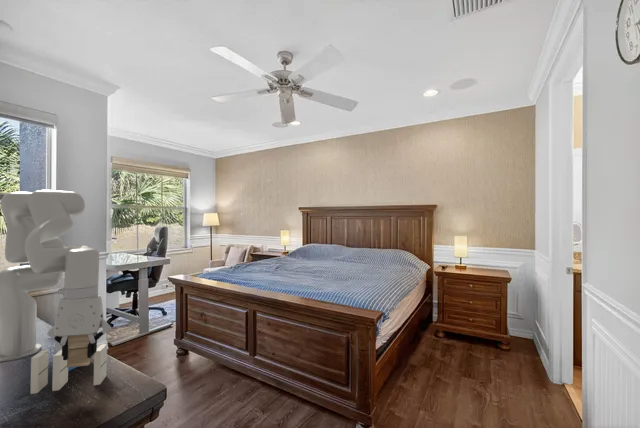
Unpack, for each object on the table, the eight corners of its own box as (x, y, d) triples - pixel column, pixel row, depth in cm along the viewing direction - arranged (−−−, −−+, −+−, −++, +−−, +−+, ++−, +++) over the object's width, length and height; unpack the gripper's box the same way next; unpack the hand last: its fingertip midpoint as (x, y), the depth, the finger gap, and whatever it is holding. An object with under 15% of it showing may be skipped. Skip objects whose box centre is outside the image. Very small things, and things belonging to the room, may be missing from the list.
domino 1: (30, 394, 83) (31, 358, 83) (40, 384, 88) (41, 350, 88) (37, 393, 83) (38, 357, 84) (47, 383, 88) (48, 349, 88)
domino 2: (52, 391, 84) (53, 355, 85) (61, 381, 89) (62, 348, 89) (59, 390, 85) (59, 355, 85) (67, 381, 90) (68, 347, 90)
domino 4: (93, 385, 88) (94, 351, 88) (100, 376, 92) (101, 344, 92) (99, 384, 88) (100, 350, 88) (106, 375, 93) (107, 344, 93)
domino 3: (88, 365, 83) (89, 329, 83) (66, 367, 82) (68, 331, 82) (90, 362, 85) (92, 327, 85) (69, 364, 83) (71, 329, 83)
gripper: (35, 297, 77) (33, 367, 77) (111, 294, 82) (109, 359, 82) (52, 290, 84) (49, 354, 84) (120, 287, 89) (119, 347, 89)
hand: (79, 356), depth 83 cm, fingers closed on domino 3, 4 cm apart
